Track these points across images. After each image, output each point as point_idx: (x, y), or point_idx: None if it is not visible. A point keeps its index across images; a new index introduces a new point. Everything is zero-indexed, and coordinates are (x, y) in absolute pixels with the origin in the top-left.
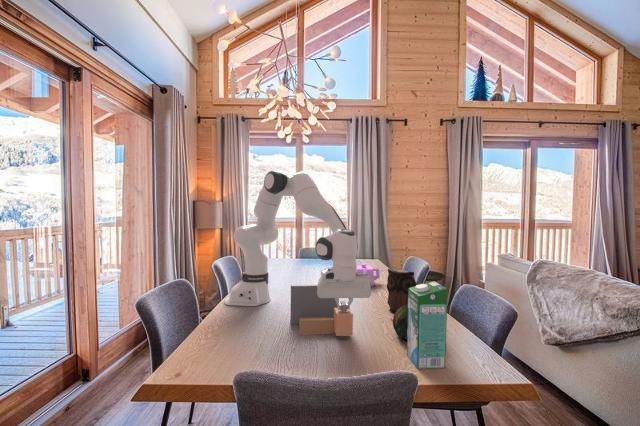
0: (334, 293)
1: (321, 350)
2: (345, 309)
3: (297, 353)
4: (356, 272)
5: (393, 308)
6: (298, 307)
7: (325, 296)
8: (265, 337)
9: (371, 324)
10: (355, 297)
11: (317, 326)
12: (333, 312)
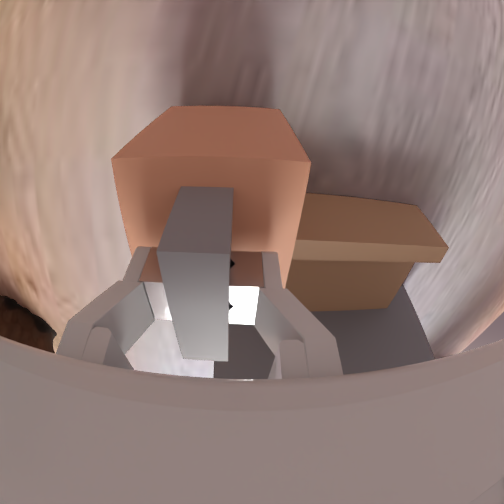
0: (398, 446)
1: (382, 25)
2: (189, 211)
3: (471, 51)
4: None
5: (36, 331)
6: (402, 342)
7: (487, 365)
8: (498, 209)
9: (83, 262)
10: (14, 347)
11: (362, 219)
12: (242, 327)
